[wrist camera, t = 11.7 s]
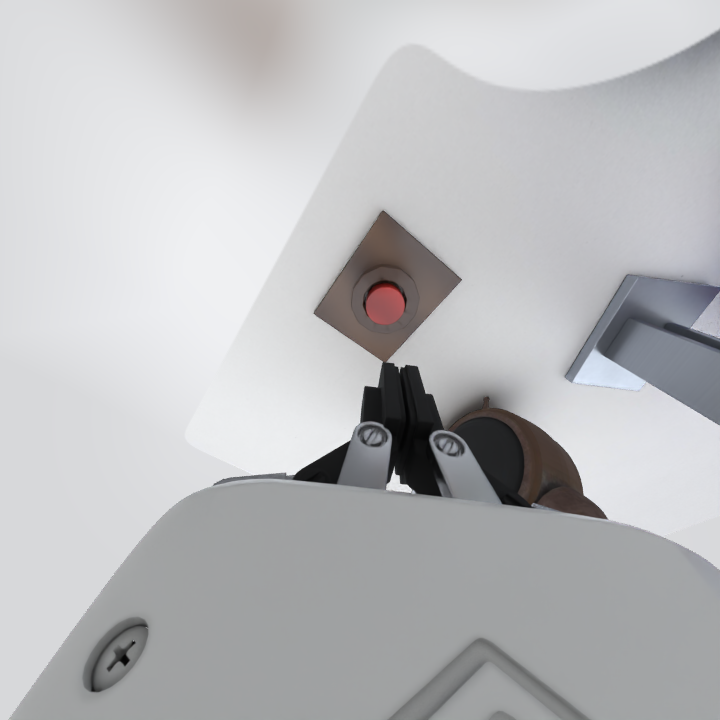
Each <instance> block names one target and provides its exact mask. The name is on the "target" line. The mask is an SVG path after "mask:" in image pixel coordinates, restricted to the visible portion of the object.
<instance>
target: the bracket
mask: <svg viewBox="0 0 720 720" xmlns="http://www.w3.org/2000/svg"><path fill="white" fill-rule="evenodd" d="M719 291H720V287H717V286H711V285H705V284H697V283H690V282H682V281H674V280H666V279H658V278H650V277H643V276H635V275H627V276H626V278H625V280H624V281H623V283H622V284H621V286H620V288H619V289H618V291H617V293H616V294H615V296H614V298H613V299H612V301H611V303H610V304H609V306H608V307H607V309H606V311H605V312H604V314H603V316H602V317H601V319H600V321H599V322H598V324H597V326H596V327H595V329H594V330H593V332H592V334H591V335H590V337H589V339H588V340H587V342H586V344H585V345H584V347H583V348H582V350H581V352H580V353H579V355H578V357H577V358H576V360H575V362H574V363H573V365H572V367H571V368H570V370H569V371H568V373H567V375H566V376H565V378H566V379H567V380H569V381H570V382H571V383H577V384H585V385H593V386H601V387H609V388H617V389H625V390H633V391H640V389H641V388H642V387H643V386H644V384H645V383H646V382H648V383H650V384H651V385H653V386H655V387H656V388H658V389H660V390H661V391H663V392H665V393H666V394H668V395H670V396H671V397H673V398H675V399H676V400H678V401H680V402H682V403H683V404H685V405H687V406H688V407H690V408H692V409H693V410H695V411H697V412H698V413H700V414H702V415H703V416H705V417H707V418H708V419H710V420H712V421H713V422H715V423H717V424H718V425H720V338H717V337H714V336H711V335H708V334H705V333H702V332H699V331H696V330H693V329H691V328H690V327H691V326H692V325H693V324H694V322H695V321H696V320H697V319H698V317H699V316H700V315H701V314H702V312H703V311H704V310H705V309H706V307H707V306H708V305H709V304H710V302H711V301H712V300H713V299H714V298H715V296H716V295H717V294H718V293H719Z"/></svg>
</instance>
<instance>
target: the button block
mask: <svg viewBox="0 0 720 720" xmlns="http://www.w3.org/2000/svg"><path fill="white" fill-rule="evenodd" d="M461 280H462V279H461V278H459V277H458V276H457V275H456V274H455V273H454V272H453V271H451V270H450V269H449V268H448V267H447V266H446V265H445V264H443V263H442V262H441V261H440V260H439V259H438V258H437V257H436V256H434V255H433V254H432V253H431V252H430V251H429V250H428V249H426V248H425V247H424V246H423V245H422V244H421V243H420V242H418V241H417V240H416V239H415V238H414V237H413V236H412V235H411V234H409V233H408V232H407V231H406V230H405V229H404V228H403V227H401V226H400V225H399V224H398V223H397V222H396V221H395V220H393V219H392V218H391V217H390V216H389V215H388V214H387V213H386V212H384V211H382V212H381V214H380V215H379V217H378V218H377V220H376V221H375V223H374V224H373V226H372V227H371V229H370V230H369V232H368V233H367V235H366V236H365V238H364V239H363V241H362V242H361V244H360V245H359V247H358V248H357V250H356V251H355V253H354V254H353V256H352V257H351V259H350V260H349V262H348V263H347V265H346V266H345V267H344V269H343V270H342V272H341V273H340V275H339V276H338V278H337V279H336V281H335V282H334V284H333V285H332V287H331V288H330V290H329V291H328V293H327V294H326V296H325V297H324V299H323V300H322V302H321V303H320V305H319V306H318V308H317V309H316V311H315V312H314V314H315V315H316V316H318V317H319V318H321V319H322V320H324V321H325V322H327V323H328V324H329V325H331V326H332V327H334V328H335V329H337V330H338V331H340V332H341V333H343V334H344V335H345V336H347V337H348V338H350V339H351V340H353V341H354V342H356V343H357V344H359V345H360V346H361V347H363V348H364V349H366V350H367V351H369V352H370V353H372V354H373V355H374V356H376V357H377V358H379V359H380V360H382V361H383V362H386V361H387V360H388V359H389V358H390V357H391V356H392V355H393V354H394V353H395V352H396V351H397V349H398V348H399V347H400V346H401V345H402V344H403V343H404V342H405V341H406V340H407V339H408V338H409V336H410V335H411V334H412V333H413V332H414V331H415V330H416V329H417V328H418V327H419V326H420V325H421V324H422V322H423V321H424V320H425V319H426V318H427V317H428V316H429V315H430V314H431V313H432V312H433V311H434V310H435V308H436V307H437V306H438V305H439V304H440V303H441V302H442V301H443V300H444V299H445V298H446V297H447V295H448V294H449V293H450V292H451V291H452V290H453V289H454V288H455V287H456V286H457V285H458V284H459V283H460V281H461ZM381 283H389V284H393V285H395V286H396V287H397V288H398V289H399V290H400V291H401V293H402V296H403V299H404V302H405V309H404V312H403V314H402V316H401V317H400V318H399V320H397V321H396V322H394V323H392V324H389V325H381V324H377V323H375V322H374V321H372V320H371V319H370V317H369V316H368V314H367V311H366V300H367V296H368V293H369V292H370V290H371V289H372V288H373V287H374V286H376V285H378V284H381Z"/></svg>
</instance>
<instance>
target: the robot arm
mask: <svg viewBox="0 0 720 720" xmlns="http://www.w3.org/2000/svg"><path fill="white" fill-rule="evenodd" d="M394 466H395V474H396V475H400V484H407V485H408V486H409V487H410V488H411V489H412V492H411V493H405V492H397V491H388V490H386V484H388V483H389V482H390V480H391V476H392V473H393V469H394ZM146 627H147V628H148V629H147V628H146ZM133 640H134V641H133ZM9 720H720V570H719V569H717V568H716V567H715V566H713V565H712V564H711V563H710V562H708V561H707V560H706V559H704V558H702V557H701V556H699V555H698V554H696V553H694V552H693V551H691V550H689V549H687V548H685V547H683V546H681V545H679V544H677V543H675V542H673V541H670V540H668V539H666V538H664V537H661V536H659V535H656V534H654V533H652V532H649V531H646V530H643V529H640V528H637V527H634V526H631V525H627V524H623V523H619V522H615V521H611V520H606V519H600V518H594V517H589V516H583V515H577V514H570V513H564V512H561V511H558V510H554V509H551V508H548V507H545V506H542V505H539V504H536V503H533V504H532V505H530V504H529V503H528V502H527V501H526V500H525V499H524V498H523V497H522V496H520V495H519V494H518V493H516V492H515V491H513V490H512V489H511V488H509V487H508V486H506V485H505V484H504V483H502V482H501V481H499V480H498V479H497V478H495V477H494V476H492V475H491V474H490V473H488V472H487V471H485V470H484V469H483V468H481V467H480V466H479V464H478V462H477V461H476V459H475V457H474V455H473V454H472V452H471V450H470V449H469V447H468V445H467V444H466V443H465V441H464V440H463V439H462V438H461V437H459V436H458V435H456V434H454V433H452V432H449V431H445V430H444V428H443V425H442V422H441V419H440V416H439V413H438V410H437V407H436V404H435V401H434V398H433V396H432V395H431V394H425V390H424V387H423V383H422V380H421V377H420V373H419V370H418V367H417V366H410V365H405V368H403V367H401V369H400V373H399V369H398V367H395V366H394V363H386V362H383V363H382V368H381V373H380V379H379V385H378V388H376V387H368V386H365V388H364V394H363V401H362V409H361V420H360V424H359V425H358V426H356V428H355V430H354V432H353V435H352V438H351V440H350V441H349V442H347V443H345V444H344V445H342V446H340V447H338V448H337V449H335V450H333V451H332V452H330V453H328V454H327V455H325V456H323V457H321V458H320V459H318V460H316V461H315V462H313V463H311V464H310V465H308V466H306V467H304V468H303V469H301V470H300V471H299V472H297V473H296V475H290V476H286V473H276V474H265V475H254V476H244V477H233V478H232V477H231V478H227V479H222V480H221V481H219V482H217V483H215V484H214V485H213V486H211V487H209V488H205V489H203V490H200V491H198V492H195V493H193V494H191V495H189V496H187V497H186V498H184V499H183V500H181V501H180V502H178V503H177V504H176V505H174V506H173V507H172V508H171V509H169V510H168V511H167V512H166V513H165V514H164V515H163V516H162V517H161V518H160V519H159V520H158V521H157V522H156V524H155V525H154V526H153V527H152V528H151V529H150V530H149V531H148V532H147V534H146V535H145V536H144V537H143V538H142V540H141V541H140V542H139V543H138V544H137V546H136V547H135V548H134V549H133V551H132V552H131V553H130V555H129V556H128V557H127V558H126V560H125V561H124V562H123V563H122V564H121V566H120V567H119V568H118V570H117V571H116V572H115V573H114V575H113V576H112V577H111V579H110V580H109V581H108V583H107V584H106V585H105V587H104V588H103V590H102V591H101V592H100V594H99V595H98V597H97V598H96V599H95V600H94V602H93V603H92V605H91V606H90V607H89V609H88V610H87V611H86V613H85V614H84V615H83V617H82V618H81V619H80V621H79V622H78V623H77V625H76V626H75V628H74V629H73V630H72V632H71V633H70V634H69V636H68V637H67V638H66V640H65V641H64V643H63V644H62V646H61V647H60V648H59V650H58V651H57V652H56V654H55V655H54V657H53V658H52V659H51V661H50V662H49V664H48V665H47V667H46V668H45V669H44V671H43V672H42V673H41V675H40V676H39V678H38V679H37V680H36V682H35V683H34V685H33V686H32V687H31V689H30V690H29V692H28V693H27V694H26V696H25V697H24V699H23V700H22V701H21V703H20V704H19V706H18V707H17V709H16V710H15V711H14V713H13V714H12V716H11V717H10V718H9Z"/></svg>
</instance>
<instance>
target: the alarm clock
mask: <svg viewBox="0 0 720 720" xmlns="http://www.w3.org/2000/svg"><path fill="white" fill-rule="evenodd" d="M483 400H484V404H483V408H482V409H480V410H477V411H474V412H471V413H469V414H467V415H465V416H464V417H462V418H461V419H459V420H458V421H457V422H456V423H455V424H454V425H453V426H452V427H451V428H450V429H449V430H448V431H449V432H452V433H454V434H456V435H458V436H459V437H461V438H462V439H463V440H464V441H465V443H466V444H467V445H468V447H469V449H470V450H471V452H472V454H473V455H474V457H475V459H476V461H477V462H478V464H479V466H480V467H481V468H483V469H484V470H485V471H487V472H488V473H490V474H491V475H492V476H494V477H495V478H497V479H498V480H499V481H501V482H502V483H504V484H505V485H506V486H508V487H509V488H511V489H512V490H513V491H515V492H516V493H518V494H519V495H520V496H522V497H523V498H524V499H525V500H526V501H527V502H528V503H529V504H530V505H532V504H533V503H536V504H539V505H542V506H545V507H548V508H551V509H554V510H558V511H561V512H564V513H570V514H577V515H583V516H589V517H594V518H600V519H606V520H608V519H607V517H606V516H605V514H604V512H603V511H602V510H601V509H600V508H599V507H598V506H597V505H596V504H595V503H593V502H592V501H591V500H589V499H588V498H587V497H585V496H584V495H583V487H582V483H581V478H580V476H579V473H578V470H577V468H576V466H575V464H574V462H573V461H572V459H571V457H570V456H569V455H568V453H567V452H566V451H565V450H564V449H563V448H562V447H561V446H560V445H559V444H558V443H557V442H556V441H554V440H553V439H552V438H551V437H550V436H549V435H548V434H547V433H546V432H544V431H543V430H542V429H540V428H539V427H537V426H536V425H534V424H533V423H531V422H529V421H527V420H525V419H523V418H521V417H519V416H517V415H515V414H513V413H511V412H509V411H506V410H503V409H497V408H489V404H488V401H489V397H484V399H483Z"/></svg>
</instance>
